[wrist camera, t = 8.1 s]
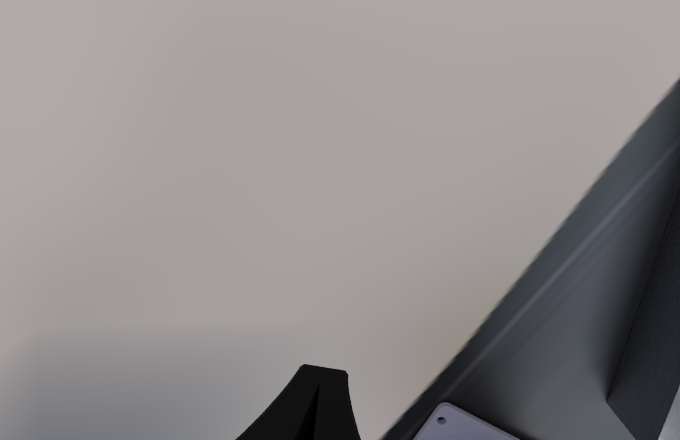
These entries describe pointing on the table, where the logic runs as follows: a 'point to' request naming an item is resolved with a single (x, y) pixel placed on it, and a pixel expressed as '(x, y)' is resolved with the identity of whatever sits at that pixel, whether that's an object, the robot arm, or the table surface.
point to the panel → (654, 351)
